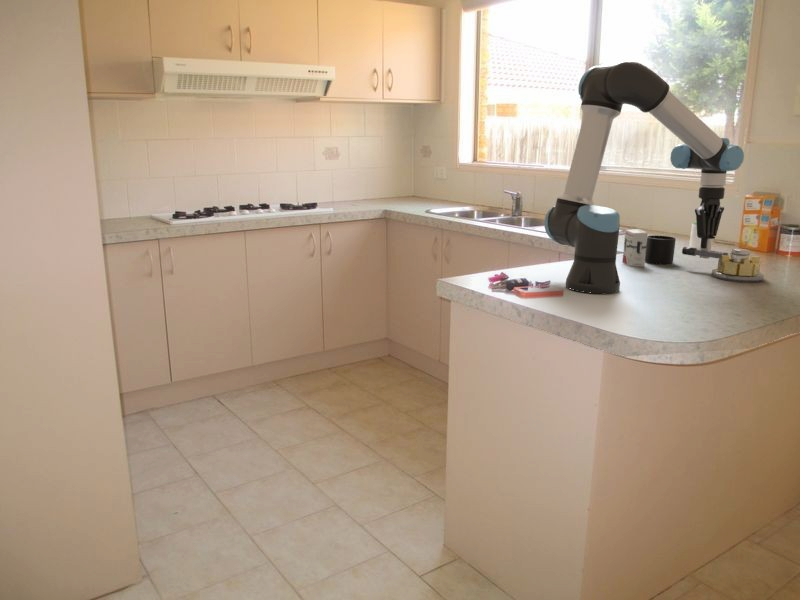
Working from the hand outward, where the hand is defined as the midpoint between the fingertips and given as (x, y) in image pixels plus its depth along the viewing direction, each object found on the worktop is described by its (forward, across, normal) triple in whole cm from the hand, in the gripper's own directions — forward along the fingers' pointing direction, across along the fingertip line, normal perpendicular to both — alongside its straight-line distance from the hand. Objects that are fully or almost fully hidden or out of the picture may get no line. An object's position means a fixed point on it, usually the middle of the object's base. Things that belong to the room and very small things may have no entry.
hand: (704, 257), depth 222 cm
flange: (+5, 0, +12) cm, 13 cm away
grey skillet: (+3, +1, +6) cm, 7 cm away
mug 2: (+5, -38, -25) cm, 45 cm away
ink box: (+4, +11, -19) cm, 23 cm away
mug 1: (+5, 0, -18) cm, 19 cm away
